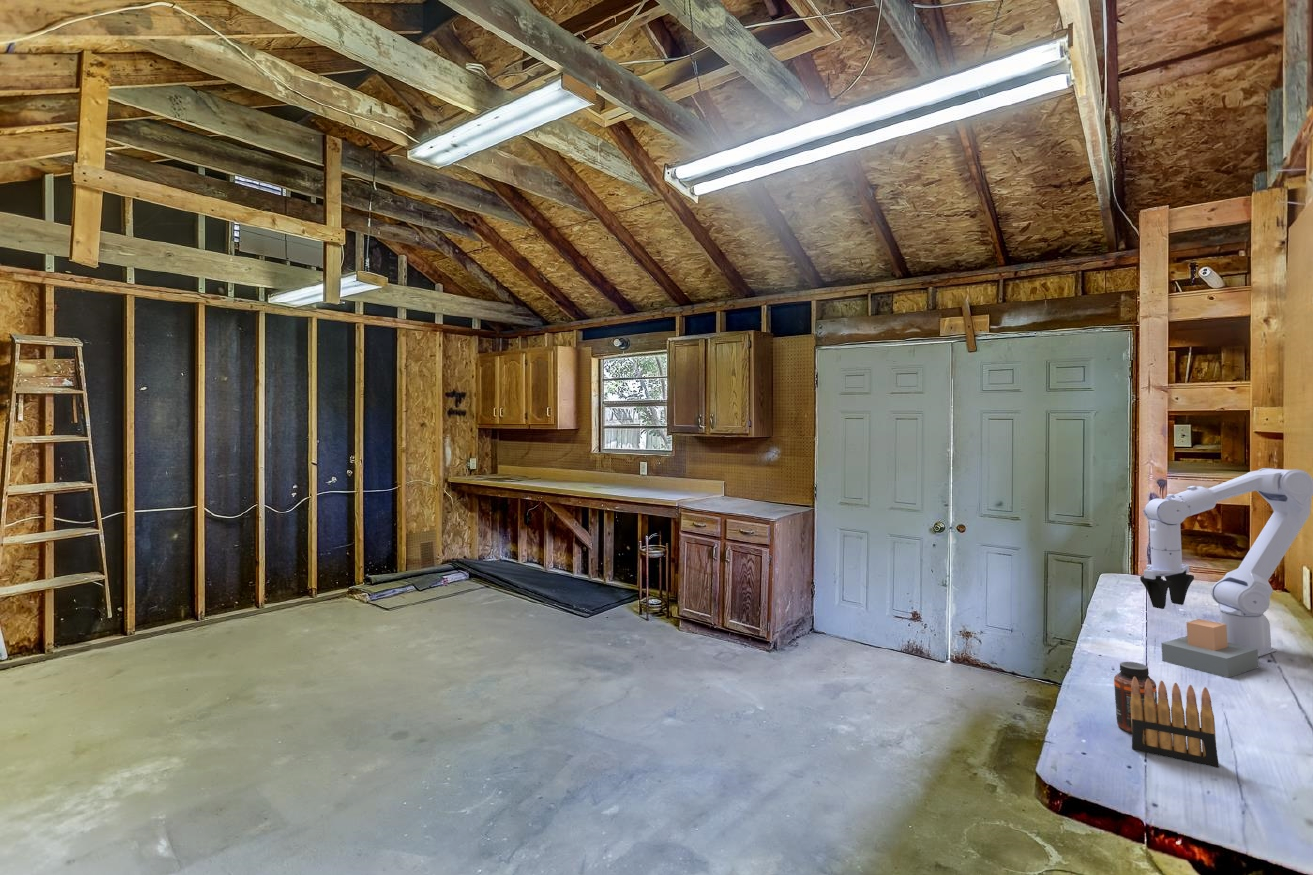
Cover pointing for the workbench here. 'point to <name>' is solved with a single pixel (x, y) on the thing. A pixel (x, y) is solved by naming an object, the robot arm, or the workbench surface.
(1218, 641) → the terracotta cube
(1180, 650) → the slate plinth
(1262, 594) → the robot arm
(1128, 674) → the supplement bottle
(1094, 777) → the workbench surface
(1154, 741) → the ammunition clip
